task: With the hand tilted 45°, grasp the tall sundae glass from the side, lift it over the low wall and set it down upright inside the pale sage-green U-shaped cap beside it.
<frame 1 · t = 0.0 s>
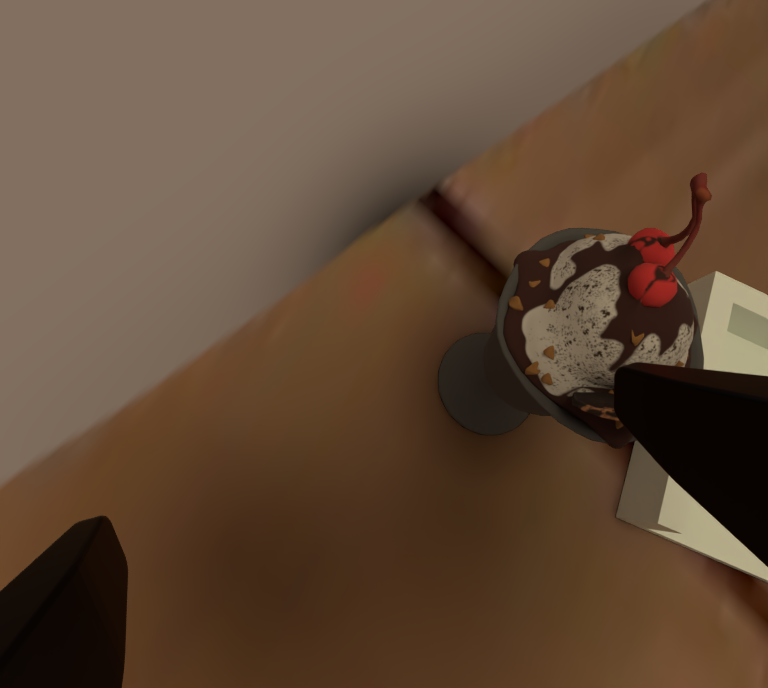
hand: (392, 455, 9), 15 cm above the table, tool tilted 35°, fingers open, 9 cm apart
end cap: (753, 445, 27), on the table
sundae: (485, 383, 26), on the table
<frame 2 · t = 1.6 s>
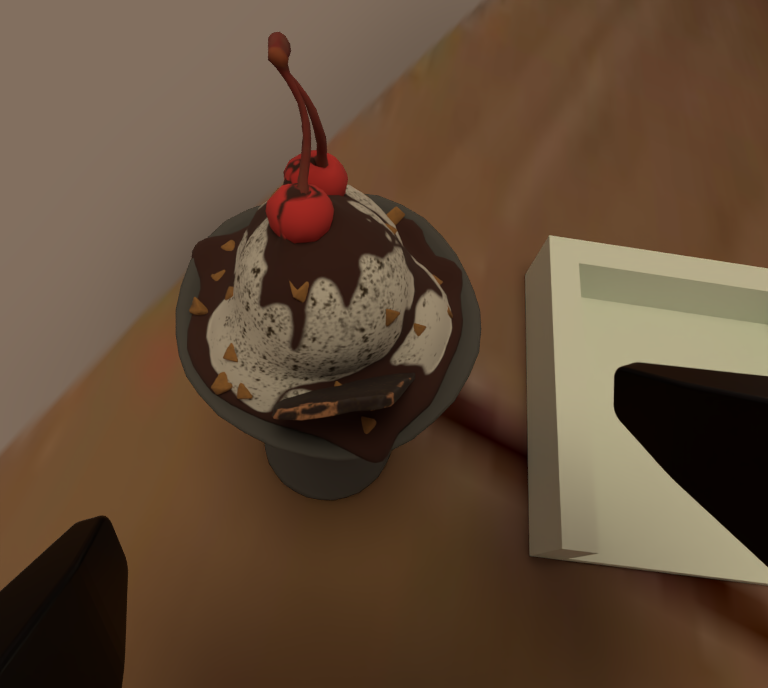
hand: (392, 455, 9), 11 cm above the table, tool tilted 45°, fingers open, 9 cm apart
end cap: (669, 417, 22), on the table
sundae: (327, 436, 21), on the table
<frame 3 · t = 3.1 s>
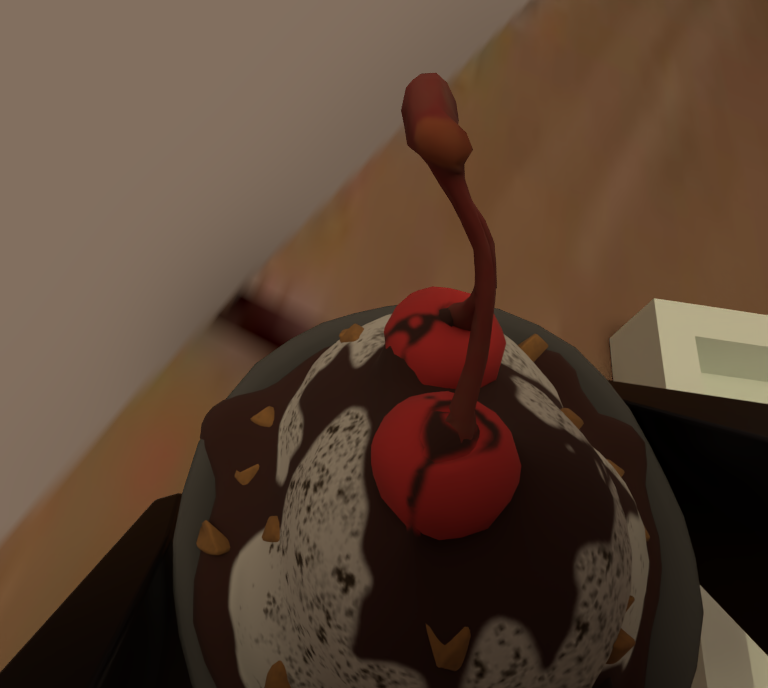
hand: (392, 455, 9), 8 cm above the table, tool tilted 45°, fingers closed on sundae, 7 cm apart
sundae: (373, 565, 16), on the table, touching gripper
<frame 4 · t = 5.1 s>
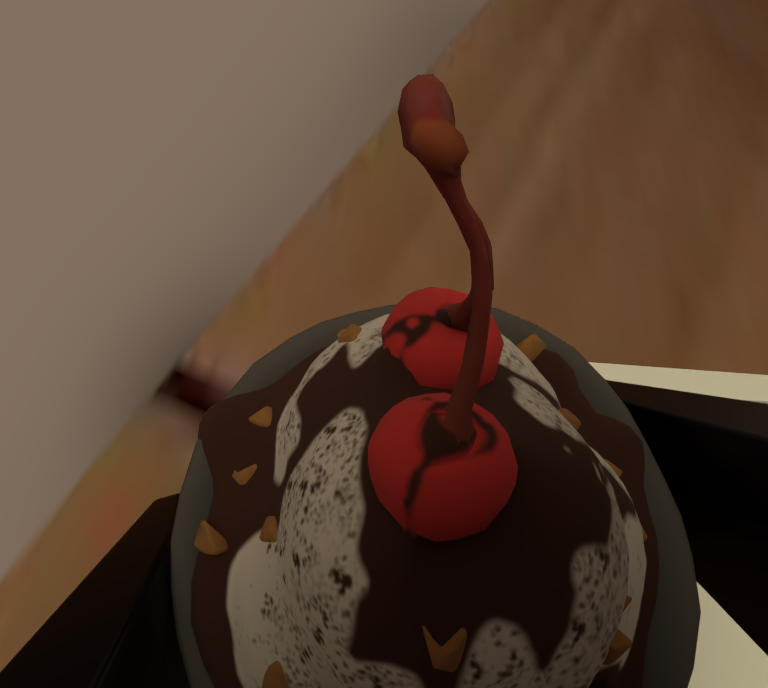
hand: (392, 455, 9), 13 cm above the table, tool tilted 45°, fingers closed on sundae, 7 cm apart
end cap: (639, 530, 22), on the table
sundae: (372, 563, 16), point 5 cm above the table, touching gripper
when the fingers open (10 cm above the table, at t = 7.4 s): sundae drops 1 cm, resting on end cap.
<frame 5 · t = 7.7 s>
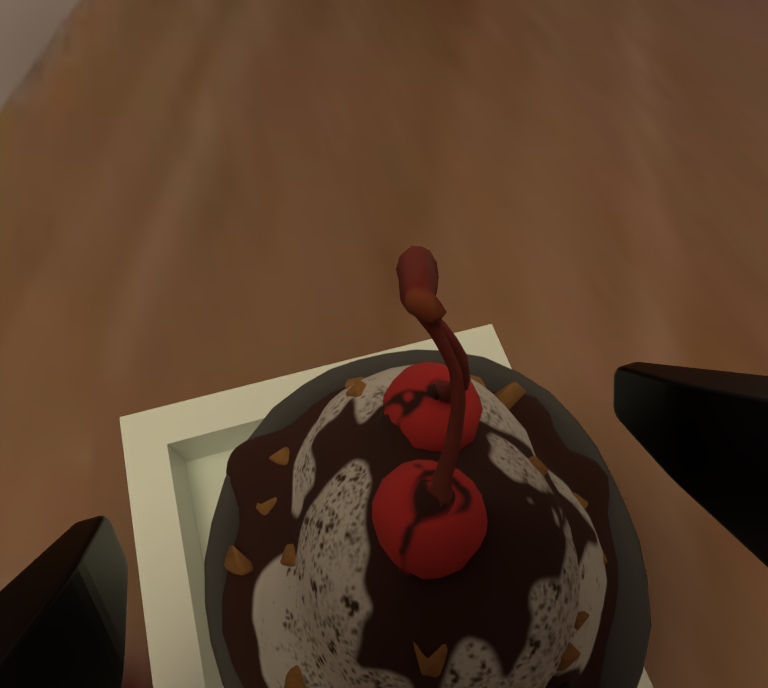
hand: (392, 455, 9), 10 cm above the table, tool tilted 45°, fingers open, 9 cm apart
end cap: (369, 567, 18), on the table
sundae: (372, 569, 17), resting on end cap
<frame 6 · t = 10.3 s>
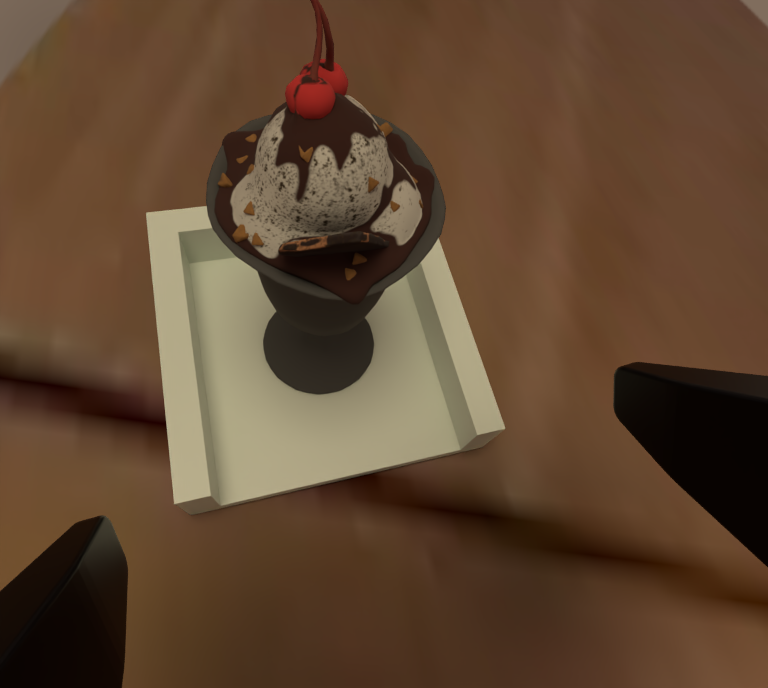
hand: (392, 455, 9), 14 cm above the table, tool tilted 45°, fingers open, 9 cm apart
end cap: (316, 346, 24), on the table
sundae: (318, 344, 24), resting on end cap
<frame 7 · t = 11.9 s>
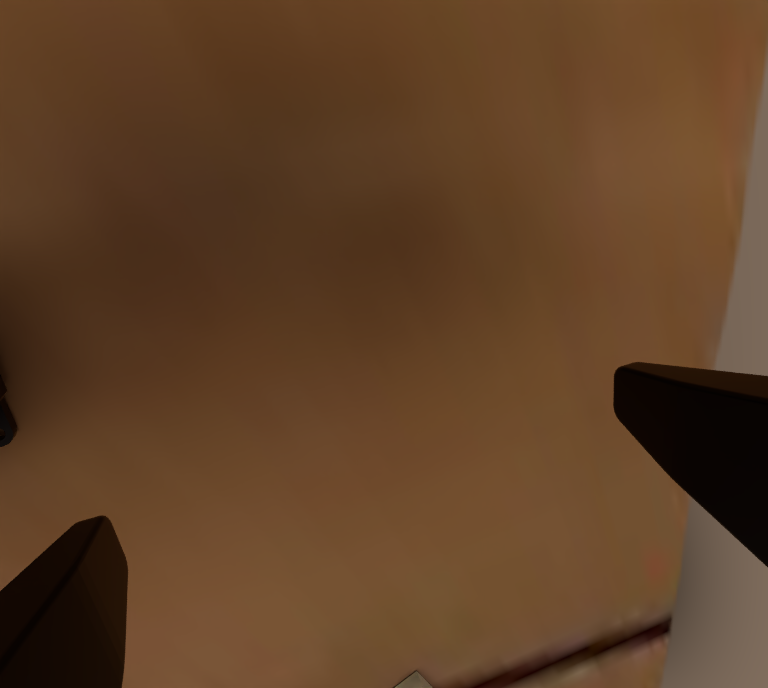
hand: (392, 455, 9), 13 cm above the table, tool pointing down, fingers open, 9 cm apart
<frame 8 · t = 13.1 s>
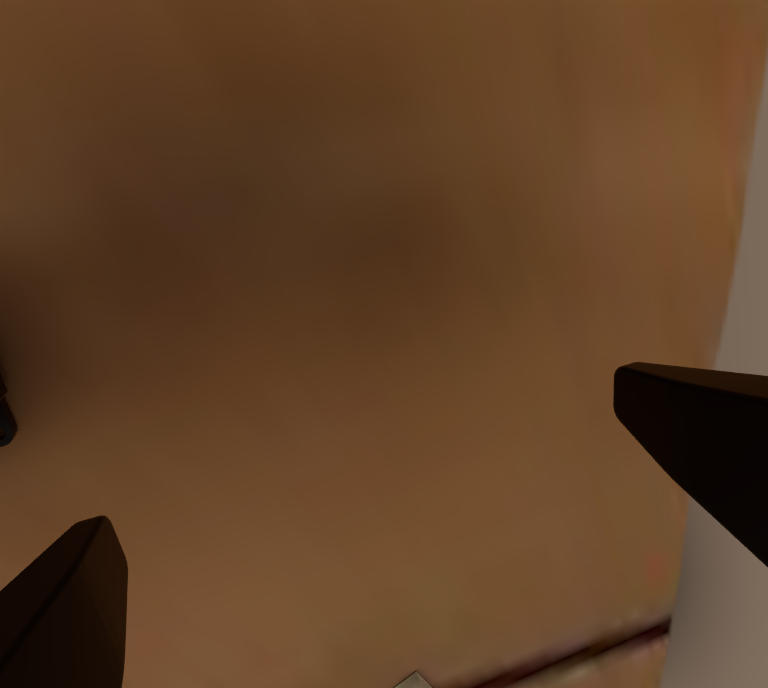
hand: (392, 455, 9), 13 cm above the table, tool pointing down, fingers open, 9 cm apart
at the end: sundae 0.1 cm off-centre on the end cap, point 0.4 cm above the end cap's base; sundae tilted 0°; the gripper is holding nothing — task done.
